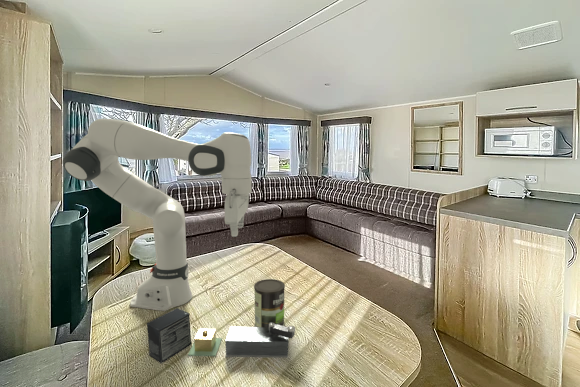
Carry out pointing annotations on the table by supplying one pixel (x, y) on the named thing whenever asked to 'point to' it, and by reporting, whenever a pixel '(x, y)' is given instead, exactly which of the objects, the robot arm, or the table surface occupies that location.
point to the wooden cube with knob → (205, 340)
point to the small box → (169, 335)
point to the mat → (205, 353)
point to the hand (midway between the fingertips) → (237, 231)
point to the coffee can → (269, 302)
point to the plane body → (255, 343)
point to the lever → (281, 330)
